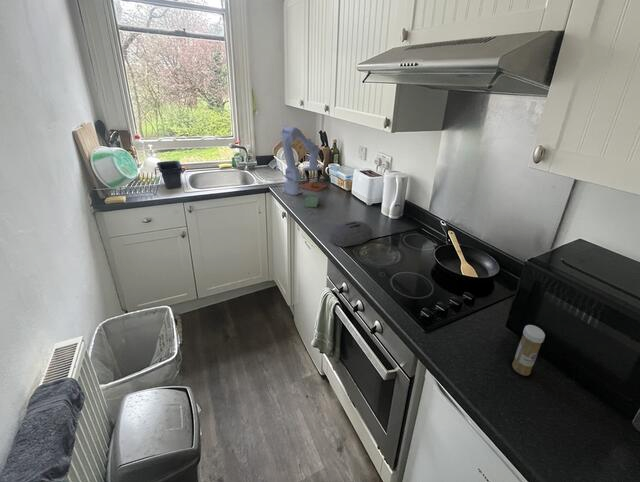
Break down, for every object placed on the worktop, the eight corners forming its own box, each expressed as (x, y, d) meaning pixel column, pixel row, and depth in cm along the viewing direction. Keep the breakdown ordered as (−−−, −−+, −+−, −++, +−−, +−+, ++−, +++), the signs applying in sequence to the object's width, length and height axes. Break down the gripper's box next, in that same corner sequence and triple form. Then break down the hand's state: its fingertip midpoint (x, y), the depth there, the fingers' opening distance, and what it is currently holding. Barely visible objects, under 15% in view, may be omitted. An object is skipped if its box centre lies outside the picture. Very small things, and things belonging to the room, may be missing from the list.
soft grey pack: (357, 229, 154) (324, 238, 144) (359, 214, 151) (324, 222, 141) (376, 242, 143) (340, 252, 132) (377, 226, 140) (341, 235, 129)
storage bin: (186, 188, 198) (183, 167, 193) (159, 191, 190) (155, 170, 185) (181, 179, 214) (178, 160, 209) (156, 182, 206) (152, 162, 201)
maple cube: (311, 187, 212) (311, 182, 211) (309, 185, 216) (309, 180, 214) (316, 186, 214) (316, 181, 212) (314, 185, 217) (315, 180, 216)
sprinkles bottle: (523, 378, 78) (537, 339, 73) (507, 364, 82) (520, 326, 77) (534, 372, 80) (549, 334, 75) (519, 359, 84) (532, 322, 79)
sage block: (304, 206, 180) (305, 200, 178) (307, 202, 186) (307, 196, 185) (316, 207, 179) (316, 201, 178) (318, 203, 186) (318, 197, 184)
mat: (298, 187, 212) (298, 186, 212) (308, 182, 224) (308, 181, 224) (317, 191, 206) (317, 191, 206) (327, 186, 218) (327, 185, 218)
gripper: (305, 163, 202) (304, 182, 207) (325, 162, 208) (324, 181, 212) (302, 161, 208) (302, 179, 213) (321, 160, 214) (321, 178, 218)
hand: (313, 180), depth 213 cm, fingers open, 7 cm apart
